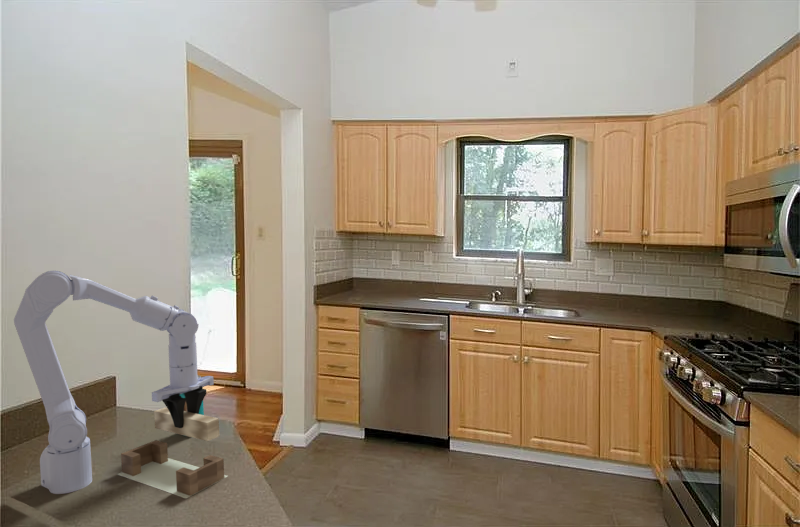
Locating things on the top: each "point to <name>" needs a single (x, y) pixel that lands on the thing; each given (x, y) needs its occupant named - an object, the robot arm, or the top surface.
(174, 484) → the base board
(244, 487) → the top surface
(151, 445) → the left end cap
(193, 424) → the slat
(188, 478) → the right end cap
